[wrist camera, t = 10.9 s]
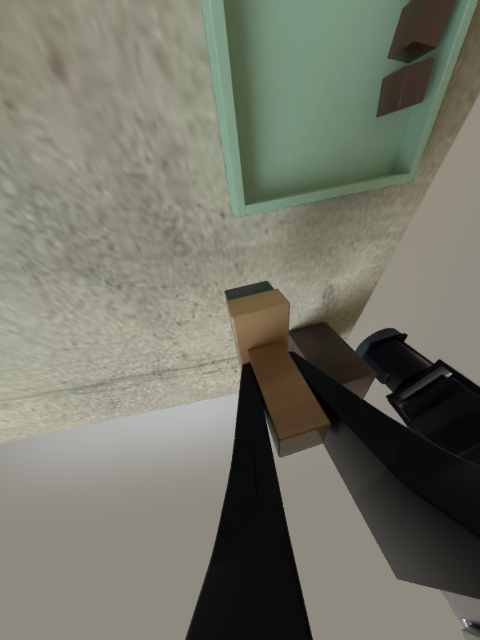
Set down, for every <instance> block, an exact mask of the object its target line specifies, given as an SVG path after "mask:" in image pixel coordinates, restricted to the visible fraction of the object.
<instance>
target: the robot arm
mask: <svg viewBox="0 0 480 640" xmlns="http://www.w3.org/2000/svg"><path fill="white" fill-rule="evenodd" d="M407 336H408V335H407V334H406V333H402V334H399V335H396V336H392V337H389V338H385V339H382V340H378V341H375V342H372V343H371V344H370V345H369V347H368V349H367V352H366V354H365V356H364V359H363V360H364V361H365V362H366V363H367V364H368V365H369V366H370V367H371V368H372V369H373V370H374V371H375V372H376V373H377V375H376V378H377V379H378V381H379V382H380V383H382V384H386V385H387V387H388V388H389V389H390V390H391V391H392V392H393V393H391V394H390V395H389V394H388V395H387V396H386V398H387V399H388V401H389V403H390V404H391V405H392V407H393V408H394V409H395V410H396V412H397V413H398V414H399V416H400V417H401V418H402V419H403V421H404V423H405V424H406V426H407V427H405V426H404V425H402V424H400V423H399V422H397V421H395V420H394V419H392V418H391V417H389V416H387V415H386V414H384V413H383V412H381V411H380V410H378V409H377V408H375V407H374V406H372V405H371V404H369V403H368V402H366V401H365V400H363V399H361V398H360V397H359V396H358V395H356V394H355V393H353V392H352V391H350V390H349V389H347V388H346V387H345V386H343V385H342V384H340V383H339V382H337V381H336V380H334V379H333V378H332V377H330V376H329V375H327V374H326V373H324V372H323V371H321V370H320V369H319V368H317V367H316V366H314V365H313V364H311V363H310V362H309V361H307V360H306V359H304V358H303V357H301V356H300V355H298V354H297V353H296V352H294V351H288V353H289V354H290V356H291V358H292V359H293V361H294V363H295V364H296V366H297V368H298V369H299V371H300V373H301V374H302V376H303V378H304V379H305V381H306V383H307V384H308V386H309V388H310V389H311V391H312V393H313V394H314V396H315V398H316V399H317V401H318V403H319V404H320V406H321V408H322V409H323V411H324V413H325V414H326V416H327V418H328V419H329V421H330V423H331V425H330V427H329V430H328V432H327V434H326V437H325V439H324V442H323V444H324V446H325V448H326V450H327V452H328V453H329V455H330V457H331V459H332V461H333V462H334V464H335V466H336V468H337V470H338V472H339V473H340V475H341V477H342V479H343V481H344V483H345V484H346V486H347V488H348V490H349V492H350V493H351V495H352V498H353V499H354V501H355V503H356V505H357V507H358V509H359V510H360V512H361V514H362V516H363V518H364V520H365V521H366V523H367V525H368V527H369V528H370V530H371V532H372V534H373V536H374V538H375V540H376V542H377V543H378V545H379V547H380V549H381V551H382V553H383V554H384V556H385V558H386V560H387V561H388V564H389V565H390V567H391V569H392V571H393V573H394V574H395V576H396V578H397V579H399V580H403V581H408V582H411V583H415V584H419V585H424V586H427V587H432V588H435V589H439V590H440V591H441V592H442V594H443V595H444V597H445V599H446V600H447V602H448V603H449V605H450V606H451V608H452V610H453V611H454V613H455V615H456V616H457V618H458V620H459V621H460V623H461V624H462V626H463V627H464V629H462V632H463V634H464V636H465V638H466V639H467V640H480V386H479V385H477V384H476V383H474V382H473V381H472V380H470V379H469V378H467V377H466V376H464V375H463V374H461V373H460V372H459V371H457V370H456V369H454V368H453V367H451V366H450V365H448V364H447V363H445V362H443V361H442V360H440V359H439V360H438V361H436V363H435V364H434V363H432V362H431V361H430V360H428V359H427V358H426V357H424V356H423V355H421V354H420V353H419V352H417V351H416V350H415V349H413V348H412V347H410V346H409V345H407V344H406V343H405V342H404V341H405V340H406V338H407ZM450 372H451V373H452V375H451V376H450V377H447V376H445V375H447V374H448V373H450ZM185 640H313V638H312V634H311V629H310V625H309V621H308V616H307V612H306V607H305V603H304V598H303V594H302V589H301V585H300V580H299V576H298V571H297V567H296V563H295V558H294V554H293V549H292V545H291V540H290V536H289V531H288V526H287V522H286V517H285V512H284V508H283V503H282V497H281V492H280V487H279V482H278V477H277V472H276V468H275V462H274V458H273V453H272V448H271V443H270V438H269V433H268V428H267V423H266V418H265V413H264V408H263V403H262V398H261V393H260V388H259V385H258V382H257V379H256V377H255V374H254V372H253V369H252V366H251V364H250V363H249V362H248V363H245V364H243V365H242V370H241V380H240V390H239V399H238V409H237V418H236V428H235V439H234V446H233V454H232V462H231V469H230V474H229V479H228V484H227V490H226V494H225V499H224V503H223V508H222V513H221V518H220V522H219V527H218V532H217V536H216V540H215V544H214V548H213V552H212V556H211V559H210V563H209V566H208V569H207V573H206V576H205V579H204V582H203V585H202V589H201V591H200V595H199V598H198V601H197V604H196V607H195V611H194V614H193V617H192V620H191V623H190V626H189V629H188V632H187V636H186V639H185Z"/></svg>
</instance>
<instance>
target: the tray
mask: <svg viewBox="0 0 480 640" xmlns="http://www.w3.org/2000/svg"><path fill="white" fill-rule="evenodd" d="M410 1H412V0H201V4H202V11H203V17H204V24H205V31H206V38H207V45H208V51H209V58H210V65H211V72H212V79H213V85H214V92H215V99H216V106H217V113H218V119H219V126H220V133H221V140H222V147H223V153H224V160H225V167H226V174H227V181H228V187H229V194H230V201H231V208H232V214H234V215H235V216H237V217H243V216H246V215H252V214H257V213H262V212H267V211H272V210H277V209H281V208H286V207H291V206H296V205H301V204H306V203H311V202H316V201H321V200H326V199H330V198H335V197H340V196H345V195H350V194H355V193H360V192H365V191H370V190H375V189H380V188H384V187H389V186H394V185H399V184H404V183H409V182H413V181H414V178H415V176H416V173H417V170H418V167H419V164H420V162H421V159H422V156H423V153H424V151H425V148H426V145H427V142H428V139H429V137H430V134H431V131H432V128H433V125H434V123H435V120H436V117H437V114H438V112H439V109H440V106H441V103H442V100H443V98H444V95H445V92H446V89H447V87H448V84H449V81H450V78H451V75H452V73H453V70H454V67H455V64H456V61H457V59H458V56H459V53H460V50H461V48H462V45H463V42H464V39H465V36H466V34H467V31H468V28H469V25H470V22H471V20H472V17H473V14H474V11H475V9H476V6H477V3H478V0H456V2H455V5H454V7H453V10H452V12H451V15H450V17H449V20H448V22H447V25H446V27H445V30H444V32H443V35H442V37H441V40H440V42H439V45H438V47H437V48H436V49H434V50H432V51H430V52H428V53H427V54H425V55H423V56H421V57H419V58H418V59H416V60H414V61H412V62H410V63H405V62H400V61H396V60H392V59H388V58H387V56H388V53H389V50H390V47H391V43H392V40H393V37H394V34H395V31H396V27H397V24H398V21H399V18H400V14H401V11H402V9H403V7H404V6H406V5H407V4H408V3H409V2H410ZM430 58H434V62H433V66H432V70H431V74H430V77H429V81H428V85H427V89H426V92H425V96H424V100H423V102H422V103H420V104H417V105H414V106H411V107H408V108H405V109H403V110H400V111H397V112H393V113H390V114H387V115H384V116H380V117H376V115H377V109H378V103H379V97H380V90H381V84H382V79H383V78H385V77H387V76H389V75H391V74H392V73H394V72H396V71H398V70H400V69H402V68H403V67H405V66H407V65H410V64H413V63H417V62H420V61H423V60H427V59H430Z"/></svg>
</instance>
